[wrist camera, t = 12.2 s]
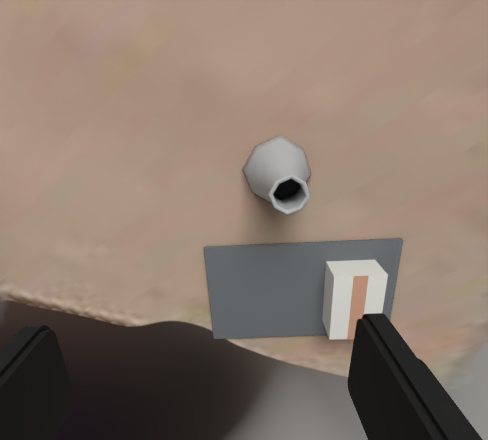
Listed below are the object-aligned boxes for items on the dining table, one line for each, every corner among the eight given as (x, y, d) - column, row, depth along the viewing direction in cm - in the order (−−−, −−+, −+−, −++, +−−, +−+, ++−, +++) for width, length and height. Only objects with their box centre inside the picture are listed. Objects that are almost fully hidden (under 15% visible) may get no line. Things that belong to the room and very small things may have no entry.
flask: (322, 173, 32) (353, 199, 23) (272, 213, 34) (282, 253, 25) (281, 122, 30) (297, 128, 21) (231, 167, 32) (225, 191, 23)
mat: (214, 336, 40) (213, 338, 40) (204, 246, 35) (203, 248, 35) (386, 329, 40) (388, 332, 39) (401, 238, 35) (403, 239, 34)
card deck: (326, 261, 36) (334, 277, 32) (374, 259, 35) (388, 275, 32) (322, 320, 39) (329, 340, 35) (367, 318, 39) (378, 338, 35)
